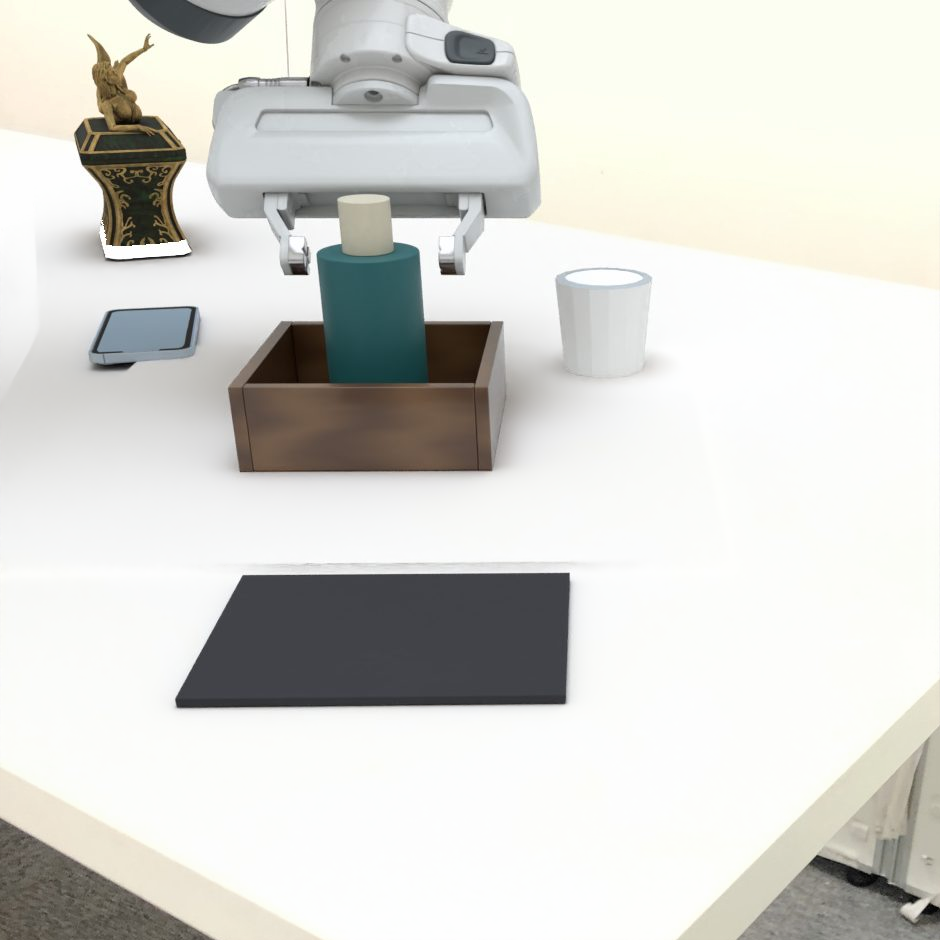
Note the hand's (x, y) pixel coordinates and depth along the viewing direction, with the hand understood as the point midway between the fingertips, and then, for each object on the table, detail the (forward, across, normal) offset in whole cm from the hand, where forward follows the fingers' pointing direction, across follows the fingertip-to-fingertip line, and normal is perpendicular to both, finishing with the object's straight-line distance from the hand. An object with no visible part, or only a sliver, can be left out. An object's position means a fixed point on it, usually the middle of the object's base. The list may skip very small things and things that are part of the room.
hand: (373, 270), depth 80 cm
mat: (+27, +4, -13) cm, 30 cm away
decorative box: (-35, -33, +50) cm, 69 cm away
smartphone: (-8, -21, +23) cm, 32 cm away
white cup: (-2, +14, +16) cm, 22 cm away
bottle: (+8, 0, +6) cm, 10 cm away
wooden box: (+8, 0, +6) cm, 10 cm away
